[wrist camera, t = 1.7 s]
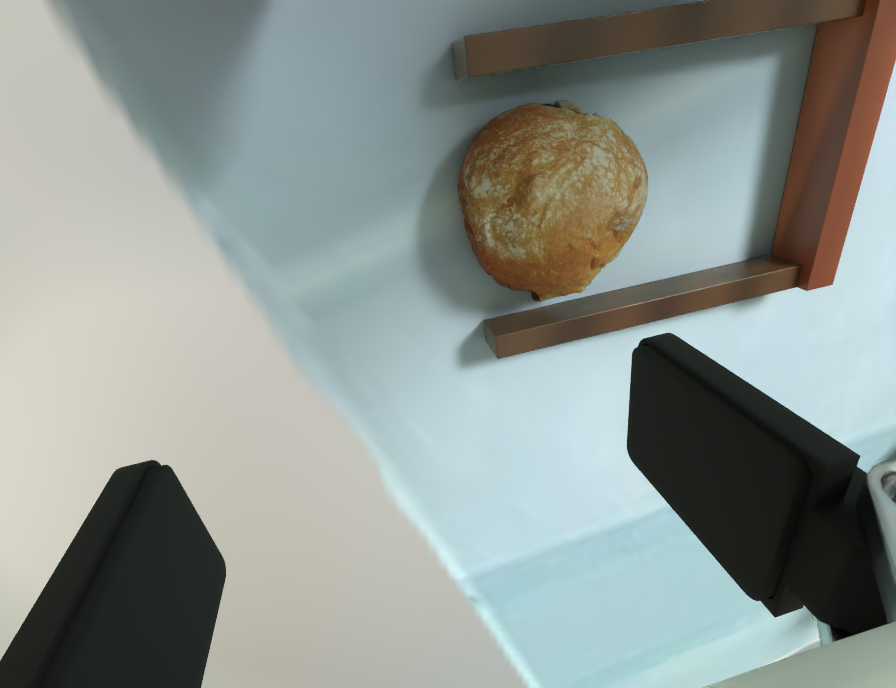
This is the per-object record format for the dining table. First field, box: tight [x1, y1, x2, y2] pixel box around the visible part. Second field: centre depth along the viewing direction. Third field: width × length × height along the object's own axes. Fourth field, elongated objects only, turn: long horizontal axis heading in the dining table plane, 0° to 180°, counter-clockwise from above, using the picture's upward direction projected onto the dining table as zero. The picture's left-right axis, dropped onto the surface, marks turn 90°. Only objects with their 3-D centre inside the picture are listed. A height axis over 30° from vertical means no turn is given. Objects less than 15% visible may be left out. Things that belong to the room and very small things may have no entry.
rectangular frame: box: [452, 0, 896, 359], centre depth 26 cm, size 23×17×3 cm
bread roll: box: [458, 101, 648, 301], centre depth 25 cm, size 10×10×8 cm
